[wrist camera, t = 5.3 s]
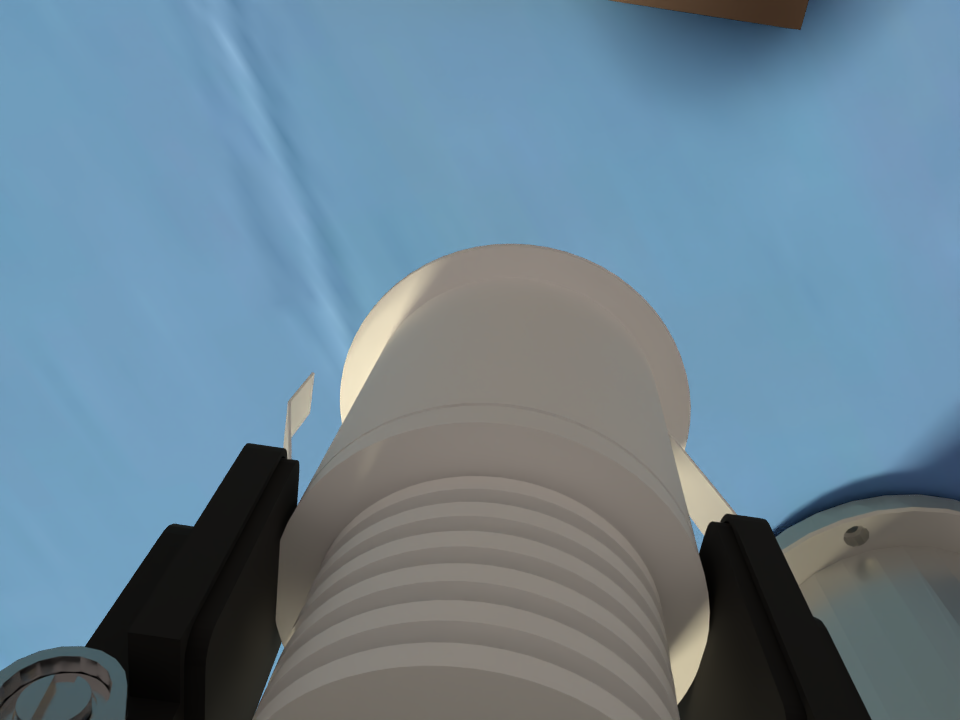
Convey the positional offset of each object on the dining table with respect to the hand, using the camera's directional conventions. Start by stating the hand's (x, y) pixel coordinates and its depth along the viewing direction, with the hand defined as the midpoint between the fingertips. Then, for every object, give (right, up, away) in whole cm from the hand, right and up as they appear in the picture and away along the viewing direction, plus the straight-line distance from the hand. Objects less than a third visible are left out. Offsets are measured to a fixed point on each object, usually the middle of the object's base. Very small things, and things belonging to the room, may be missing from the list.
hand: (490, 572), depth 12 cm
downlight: (0, +2, +5) cm, 6 cm away
